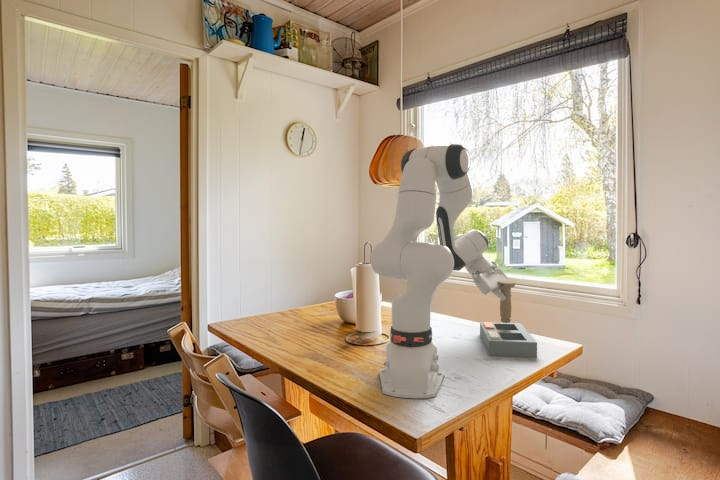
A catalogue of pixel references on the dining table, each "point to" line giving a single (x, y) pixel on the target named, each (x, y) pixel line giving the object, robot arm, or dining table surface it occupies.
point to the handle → (506, 300)
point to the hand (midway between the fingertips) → (507, 298)
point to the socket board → (507, 340)
